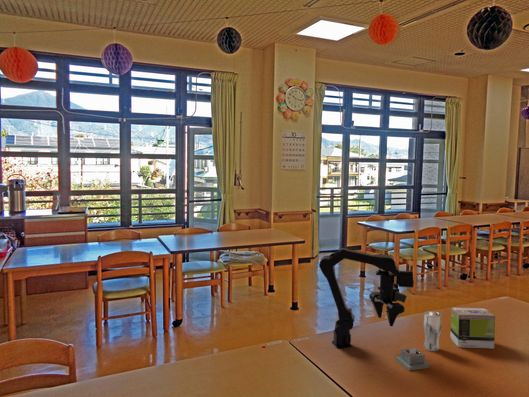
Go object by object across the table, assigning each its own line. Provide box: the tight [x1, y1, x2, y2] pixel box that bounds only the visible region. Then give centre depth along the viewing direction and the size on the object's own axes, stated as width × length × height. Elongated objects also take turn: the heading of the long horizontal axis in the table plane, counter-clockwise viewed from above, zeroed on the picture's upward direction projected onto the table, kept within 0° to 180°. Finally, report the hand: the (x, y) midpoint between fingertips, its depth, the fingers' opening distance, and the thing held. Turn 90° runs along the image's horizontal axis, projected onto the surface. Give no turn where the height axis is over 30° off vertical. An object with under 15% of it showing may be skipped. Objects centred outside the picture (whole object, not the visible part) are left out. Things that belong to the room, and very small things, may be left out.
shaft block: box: [395, 347, 430, 371], centre depth 161 cm, size 9×9×6 cm
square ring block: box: [399, 347, 426, 365], centre depth 161 cm, size 6×6×4 cm
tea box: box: [450, 306, 496, 350], centre depth 179 cm, size 15×10×15 cm, turn 84°
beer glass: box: [423, 310, 443, 352], centre depth 175 cm, size 7×7×15 cm
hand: (385, 321), depth 173 cm, fingers open, 9 cm apart
